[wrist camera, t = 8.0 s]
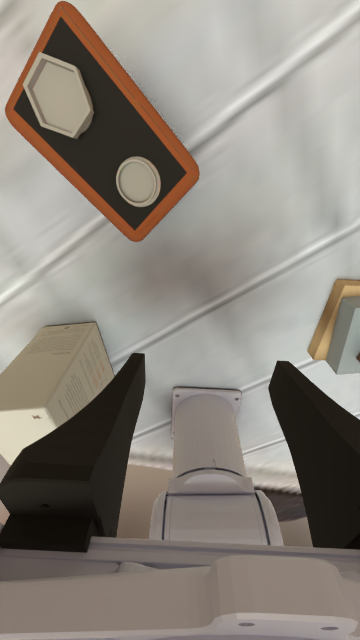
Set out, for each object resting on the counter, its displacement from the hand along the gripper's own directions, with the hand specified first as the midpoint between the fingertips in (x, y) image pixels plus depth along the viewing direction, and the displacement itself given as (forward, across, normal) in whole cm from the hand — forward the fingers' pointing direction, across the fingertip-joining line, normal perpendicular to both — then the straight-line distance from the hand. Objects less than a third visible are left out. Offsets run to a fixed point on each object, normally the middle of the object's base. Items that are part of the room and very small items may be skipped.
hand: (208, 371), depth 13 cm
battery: (+11, +5, -10) cm, 15 cm away
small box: (+11, +12, +8) cm, 18 cm away
